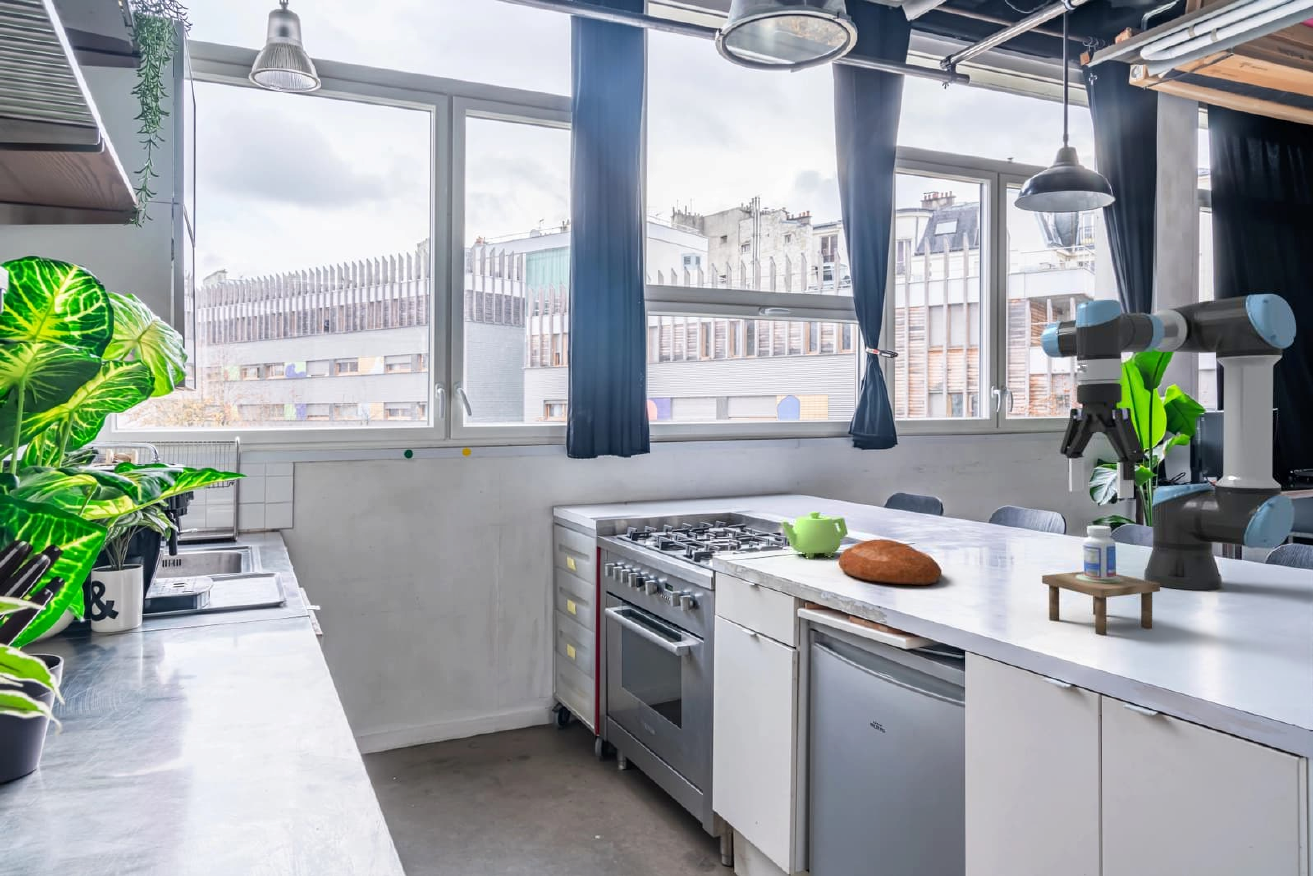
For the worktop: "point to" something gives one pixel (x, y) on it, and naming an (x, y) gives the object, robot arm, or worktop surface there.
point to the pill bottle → (1099, 554)
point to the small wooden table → (1101, 595)
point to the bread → (889, 563)
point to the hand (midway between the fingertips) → (1100, 494)
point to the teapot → (816, 534)
